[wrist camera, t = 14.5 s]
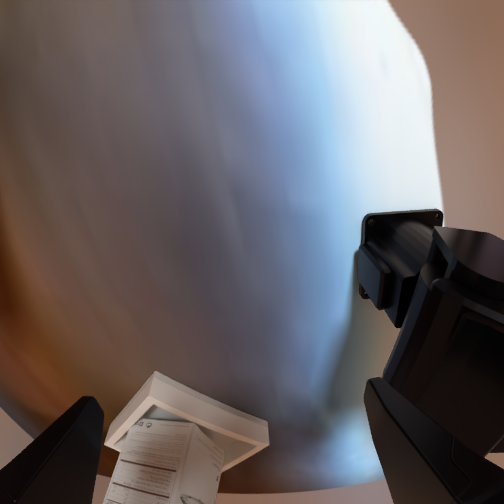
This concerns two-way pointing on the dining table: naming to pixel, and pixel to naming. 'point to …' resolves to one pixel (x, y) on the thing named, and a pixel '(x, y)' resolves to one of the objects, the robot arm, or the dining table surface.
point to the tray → (192, 418)
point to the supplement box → (166, 465)
